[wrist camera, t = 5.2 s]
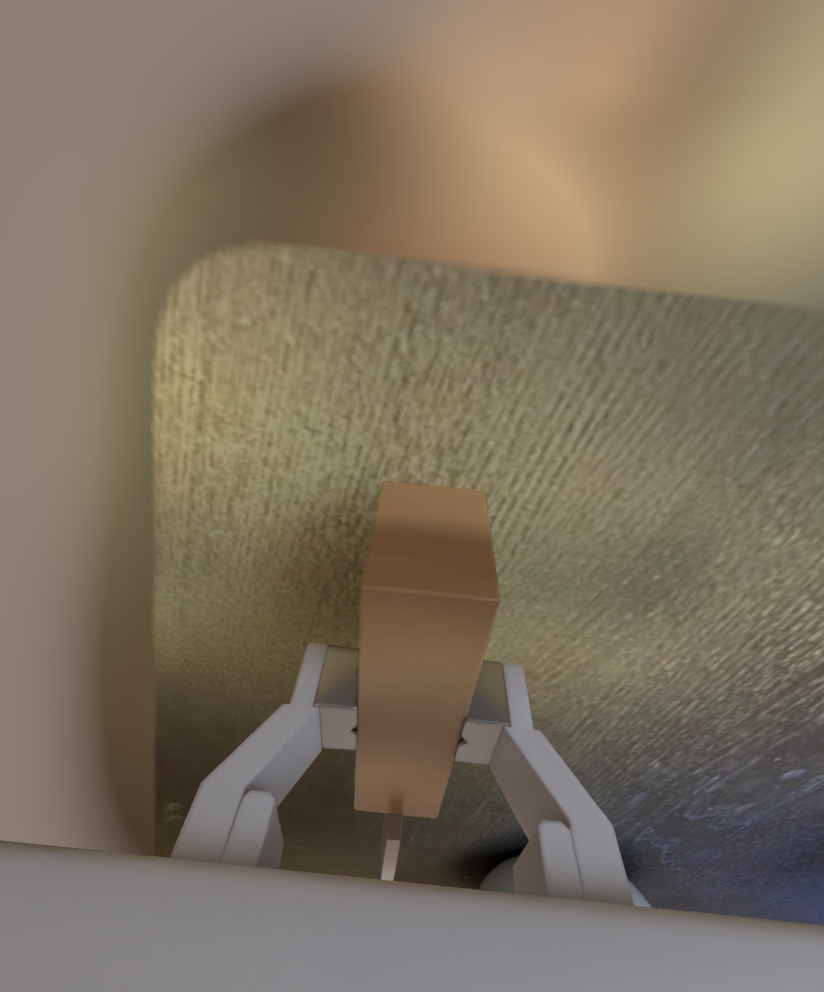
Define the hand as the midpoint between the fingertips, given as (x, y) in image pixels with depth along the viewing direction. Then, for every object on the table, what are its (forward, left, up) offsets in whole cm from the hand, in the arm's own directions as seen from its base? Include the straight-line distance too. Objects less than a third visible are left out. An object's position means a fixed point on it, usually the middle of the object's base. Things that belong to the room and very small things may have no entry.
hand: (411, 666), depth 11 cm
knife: (+7, 0, -2) cm, 7 cm away
